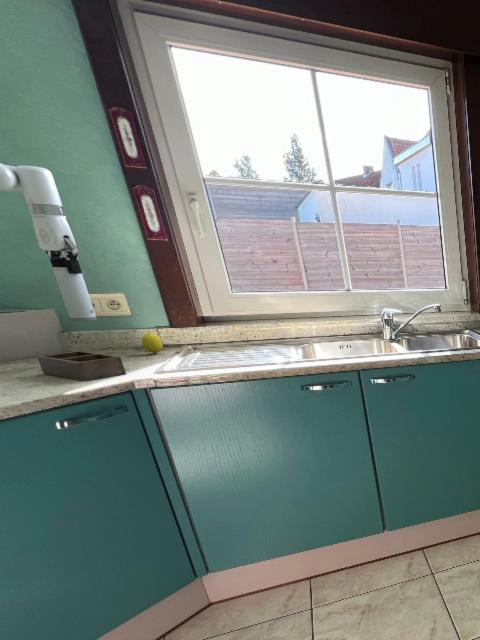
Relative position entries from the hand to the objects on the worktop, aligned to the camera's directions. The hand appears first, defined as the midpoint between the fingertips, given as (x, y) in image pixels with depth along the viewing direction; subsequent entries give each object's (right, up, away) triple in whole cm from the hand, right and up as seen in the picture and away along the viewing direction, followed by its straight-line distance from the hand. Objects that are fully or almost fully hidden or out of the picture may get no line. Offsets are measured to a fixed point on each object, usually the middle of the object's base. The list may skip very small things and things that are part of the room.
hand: (68, 272), depth 158 cm
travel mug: (-1, -14, +6) cm, 15 cm away
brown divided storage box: (+10, -34, -4) cm, 35 cm away
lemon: (+5, -22, +26) cm, 34 cm away
